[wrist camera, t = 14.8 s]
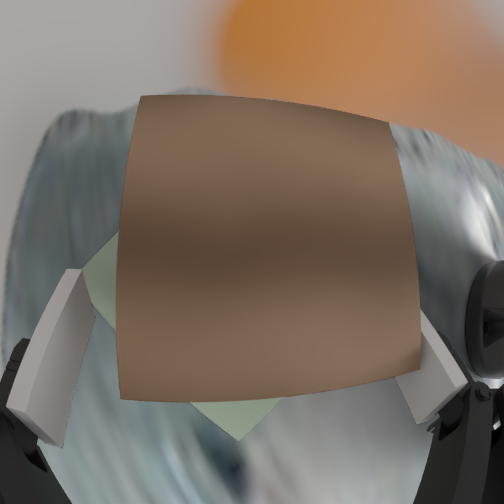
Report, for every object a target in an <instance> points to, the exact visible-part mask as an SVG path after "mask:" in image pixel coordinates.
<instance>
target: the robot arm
mask: <svg viewBox="0 0 504 504" xmlns="http://www.w3.org/2000/svg"><path fill="white" fill-rule="evenodd" d="M420 313H421V368H420V370H417V371H414V372H410V373H406V374H403V375H399V376H395V379H396V381H397V383H398V386H399V388H400V390H401V392H402V394H403V396H404V398H405V400H406V402H407V404H408V407H409V409H410V411H411V413H412V415H413V417H414V420H415V422H416V424H417V425H418V424H421V423H423V422H426V421H428V420H430V419H431V418H433V417H434V416H435V415H436V414H437V413H439V415H440V417H439V418H438V419H437V420H436V421H435V422H433V423H432V424H431V425H430V426H429V427H428V429H427V431H428V432H429V431H430V430H431V429H432V428H433V427H435V429H434V430H433V431H432V432H431V433H434V435H433V439H432V444H431V448H430V452H429V455H428V459H427V463H426V466H425V470H424V473H423V476H422V479H421V482H420V485H419V488H418V491H417V494H416V497H415V500H414V502H413V504H504V384H503V385H502V386H501V387H500V388H499V389H490V388H489V387H488V386H487V385H486V384H485V383H483V382H479V381H478V382H474V380H473V379H472V377H471V375H470V374H469V372H468V370H467V369H466V367H465V366H464V364H463V362H462V361H461V359H460V358H459V356H457V353H456V351H455V350H454V349H452V345H451V344H450V342H449V341H448V339H447V338H446V337H445V336H444V335H443V334H441V333H440V332H439V331H435V329H434V328H433V326H432V325H431V323H430V322H429V320H428V319H427V317H426V316H425V315H424V313H423V312H422V310H421V309H420ZM95 319H96V316H95V313H94V309H93V306H92V303H91V300H90V296H89V293H88V289H87V286H86V282H85V278H84V275H83V271H82V269H66V271H65V273H64V275H63V276H62V278H61V280H60V282H59V284H58V285H57V287H56V289H55V291H54V293H53V295H52V297H51V299H50V300H49V302H48V304H47V306H46V308H45V310H44V312H43V314H42V316H41V319H40V321H39V323H38V325H37V327H36V329H35V331H34V334H33V336H32V338H31V339H25V338H23V339H22V340H21V341H20V342H19V343H18V344H17V345H16V346H15V347H14V350H13V352H12V354H11V357H10V361H8V364H7V366H6V370H5V371H4V374H3V376H2V379H1V382H0V504H72V503H71V501H70V500H69V498H68V497H67V495H66V493H65V492H64V490H63V489H62V487H61V485H60V484H59V482H58V480H57V479H56V477H55V475H54V474H53V472H52V470H51V468H50V466H49V465H48V463H47V461H46V459H45V457H44V455H43V453H42V451H41V449H40V447H39V446H38V445H37V440H38V438H40V439H41V440H42V441H43V442H44V443H46V444H49V445H53V446H56V447H60V448H63V445H64V439H65V433H66V428H67V423H68V418H69V413H70V408H71V404H72V399H73V395H74V391H75V387H76V383H77V379H78V375H79V371H80V368H81V364H82V361H83V357H84V354H85V350H86V347H87V344H88V340H89V337H90V334H91V331H92V328H93V325H94V322H95ZM466 342H467V350H468V355H469V359H470V362H471V364H472V366H473V368H474V370H475V371H476V373H477V374H478V375H480V376H481V377H484V378H492V379H501V378H504V260H500V261H496V262H492V263H489V264H487V265H485V266H484V267H483V268H482V269H481V270H480V271H479V273H478V274H477V276H476V278H475V280H474V283H473V285H472V288H471V292H470V296H469V301H468V307H467V315H466ZM499 420H500V423H501V426H499V427H498V428H497V429H496V430H494V428H493V425H494V424H496V423H497V422H498V421H499Z"/></svg>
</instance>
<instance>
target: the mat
mask: <svg viewBox="0 0 504 504" xmlns="http://www.w3.org/2000/svg"><path fill="white" fill-rule="evenodd" d="M118 234H119V231H118V232H117V233H116V234H115V235H114V236H113V237H112V238H111V239H110V240H109V241H108V242H107V243H106V244H105V245H104V246H103V247H102V248H101V249H100V250H99V251H98V252H97V253H96V254H95V255H94V256H93V257H92V258H91V259H90V261H89V262H88V263H87V264H86V265H85V266H84V267H83V268H82V271H83V275H84V278H85V282H86V286H87V289H88V293H89V296H90V300H91V303H92V304H93V306H94V307H95V308H96V309H97V310H98V312H99V313H100V314H101V315H102V316H103V317H104V319H105V320H106V321H107V322H108V323H109V324H110V325H111V326H112V328H113V329H114V330H115V331H116V266H117V248H118ZM282 398H283V397H280V398H271V399H259V400H246V401H228V402H189V403H191V404H192V405H193V406H194V407H195V408H197V409H198V410H199V411H200V412H201V413H203V414H204V415H205V416H206V417H208V418H209V419H210V420H211V421H213V422H214V423H215V424H216V425H218V426H219V427H220V428H222V429H223V430H224V431H226V432H227V433H228V434H230V435H231V436H232V437H234V438H235V439H236V440H238V441H240V440H241V439H242V438H243V437H244V436H245V435H246V434H247V433H248V432H249V431H250V430H252V429H253V428H254V427H255V426H256V425H257V424H258V423H259V422H260V421H261V420H262V419H263V418H264V417H265V416H266V415H267V414H268V413H269V412H270V411H271V410H272V409H273V408H274V407H275V406H276V405H277V404H278V402H279V401H280V400H281V399H282Z"/></svg>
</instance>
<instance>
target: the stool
mask: <svg viewBox="0 0 504 504" xmlns="http://www.w3.org/2000/svg"><path fill="white" fill-rule="evenodd" d="M116 347H117V365H118V378H119V389H120V398H121V399H124V400H137V401H154V402H228V401H246V400H259V399H271V398H280V397H289V396H297V395H304V394H311V393H318V392H324V391H330V390H336V389H341V388H347V387H352V386H357V385H361V384H366V383H371V382H375V381H379V380H383V379H387V378H391V377H395V376H399V375H403V374H406V373H410V372H414V371H417V370H420V368H421V313H420V293H419V280H418V269H417V259H416V251H415V243H414V235H413V229H412V222H411V216H410V210H409V205H408V200H407V195H406V190H405V185H404V180H403V176H402V171H401V167H400V163H399V159H398V155H397V151H396V147H395V144H394V140H393V136H392V133H391V129H390V126H389V123H388V122H384V121H380V120H377V119H373V118H369V117H364V116H360V115H356V114H351V113H347V112H342V111H337V110H332V109H327V108H321V107H316V106H310V105H304V104H297V103H290V102H283V101H275V100H266V99H256V98H245V97H232V96H213V95H149V96H141V97H140V102H139V106H138V110H137V114H136V119H135V124H134V128H133V133H132V139H131V144H130V149H129V155H128V161H127V167H126V174H125V180H124V188H123V195H122V204H121V213H120V223H119V234H118V248H117V266H116Z"/></svg>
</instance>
